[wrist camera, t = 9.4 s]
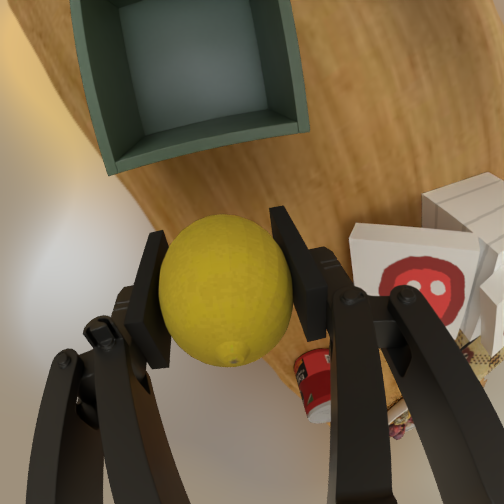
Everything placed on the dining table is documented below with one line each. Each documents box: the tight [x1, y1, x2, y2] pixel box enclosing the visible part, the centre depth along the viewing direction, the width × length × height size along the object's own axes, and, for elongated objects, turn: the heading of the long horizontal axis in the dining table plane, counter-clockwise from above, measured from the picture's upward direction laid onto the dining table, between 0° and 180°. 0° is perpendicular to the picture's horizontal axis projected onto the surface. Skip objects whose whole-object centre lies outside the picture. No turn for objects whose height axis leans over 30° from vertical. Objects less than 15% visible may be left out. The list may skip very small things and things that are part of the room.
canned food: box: [294, 349, 331, 423], centre depth 44 cm, size 8×8×11 cm
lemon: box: [159, 214, 293, 367], centre depth 12 cm, size 6×6×8 cm
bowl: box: [387, 399, 415, 440], centre depth 70 cm, size 30×30×8 cm
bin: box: [70, 0, 310, 176], centre depth 18 cm, size 16×14×11 cm
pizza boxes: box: [349, 172, 504, 358], centre depth 30 cm, size 19×30×18 cm, turn 107°
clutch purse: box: [455, 329, 504, 381], centre depth 46 cm, size 30×7×15 cm, turn 128°
